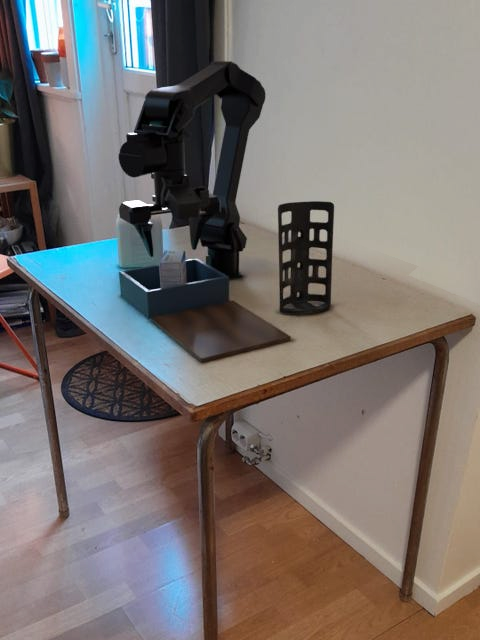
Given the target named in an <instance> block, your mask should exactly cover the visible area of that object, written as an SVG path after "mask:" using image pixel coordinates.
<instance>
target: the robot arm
mask: <svg viewBox="0 0 480 640" xmlns="http://www.w3.org/2000/svg"><path fill="white" fill-rule="evenodd" d="M215 95H216V97H218V99H219V100H220V111H221V114H222V117H223V120H224V123H225V125H224V130H223V136H222V141H221V147H220V151H219V152H220V153H219V158H218V163H217V168H216V174H215V180H214V185H213V190H212V193H210V190H209V189H208V187H207V186H206V185H205V186H197V187H193V188H192V187H191V184H190V178H189V175H188V174H186V163H185V162H186V161H185V160H186V159H185V158H186V157H185V140H190V139H191V133H190V132H189V131H188V130H187V129H185V126H187V124H188V123H189V122H190V121H191V120H192V119H193V118H194V116H195V110H196V109H197V108H198V107H199V106H201V105H202V104H204V103H205V102H207V101H208V100H210V99H211V98H213V97H215ZM265 101H266V89H265V88H264V87H263V85H262V82H261V81H259V80H258V79H257V78H256V77H255V76H253V75H251V74H250V73H248V72H246V71H245V70H243V69H241V68H240V66H239V65H238V64H237V63H235V62H233V61H230V60H229V61H228V60H214V61H211V62H210V63H209V64H208V66H207V67H205V68H203V69H201V70H199V71H198V72H197V73H195V74H193V75H192V76H190V77H189V78H187V79H185V80H183V81H182V82H181V83H179V84H176V85H172V86H163V87H159V88H154V89H151V90H149V91H148V92H147V93H146V95H145V96H144V101H143V105H142V106H141V110H140V111H139V115H138V118H137V121H136V124H135V126H134V130H133V132H128V133H126V135H125V137H126V141H125V142H124V143H122V145H121V147H120V149H119V153H118V162H119V165H120V167H121V170H122V171H123V172H124V174H125V175H127V176H128V177H130V178H139V177H142V176H146V175H150V179H152V180H153V181H154V182H153V184H154V185H153V186H154V194H153V195H151V200H152V202H154V203H151V204H147V203H145V202H143V201H141V200H139V199H138V200H130V201H123V202H121V203H120V205H119V207H118V214H119V216H120V218H121V219H123V220H125V221H126V222H128V223H130V224H132V225H134V227H135V228H136V230H137V231H138V233H139V235H140V237H141V239H142V241H143V243H144V246H145V248H146V250H147V252H148V254H149V256H150V257H153V242H152V234H151V229H152V226H153V224H152V223H151V222H149V220H150V219H151V215H157V214H160V215H164V214H173V216H174V218H175V219H178V220H185V219H188V224H189V225H188V227H189V239H190V246H191V250H193V251H196V250H197V248H198V244H199V243H200V245H201V247H203V248H204V247H205V248H207V254H206V255H205V263H206V264H208V265H210V266H211V267H213V268H215V269H216V270H218V271H220V272H222V273H223V274H225V275H227V276H229V280H232V279H236V278H242V277H243V276H244V273H242V272H240V252H243V251H244V249H245V248H246V247H247V241H248V238H247V236H246V235H245V233H244V232H243V230H242V229H241V227H240V222H241V216H240V213H239V210H238V206H237V203H236V200H237V195H238V190H239V187H240V185H239V184H240V179H241V176H242V175H241V173H242V171H243V170H242V169H243V166H244V165H243V164H244V159H245V154H246V149H247V143H248V138H249V135H250V133H249V132H250V130H251V128H252V127H253V126H254V125H255V124H256V122H257V121H258V120H259V119H260V117H261V113H262V110H263V108H264V107H263V106H264V104H265Z"/></svg>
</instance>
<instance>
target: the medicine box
mask: <svg viewBox="0 0 480 640" xmlns="http://www.w3.org/2000/svg"><path fill="white" fill-rule="evenodd" d="M186 255H187V254H186V251H185V250H184V249H166V250H163V256H162V258H161V261H160V263H159V270H160V284H161V288H164V287H170V286H175V285H180V284H186V283H187V279H186V260H187V259H186V258H187V257H186Z"/></svg>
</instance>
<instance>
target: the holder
mask: <svg viewBox="0 0 480 640" xmlns="http://www.w3.org/2000/svg"><path fill="white" fill-rule="evenodd" d="M311 211H325V212H326V213H327V221H326V222H320V221H311ZM288 212H291V214H290V215H291V216H290V222H289V223H285V224H283V214H285V213H288ZM334 224H335V203H333V202H331V201H323V200H321V201H320V200H318V201H317V200H314V201H313V200H312V201H310V200H309V201H294V202H285V203H281V204H279V205H278V206H277V229H278V230H277V231H278V234H277V235H278V236H277V237H278V276H279V278H278V279H279V284H278V285H279V286H278V287H279V313H281V314H284V315H285V314H286V315H290V314H309V313H311V314H315V313H321V312H326V311H327V310H329V309H330V308H331V307H332V276H333V272H332V271H333V248H334V247H333V246H334ZM311 230H313V239H312V240H310V239H311V238H310V237H311V234H310V233H311ZM322 230H323V231H326V240H325V241H324V240H321V238H320V237H321V236H320V234H321V231H322ZM283 233H284V234H283ZM289 234H290V235H289ZM299 235H300V236H299ZM283 236H284V237H283ZM289 237H290V240H289ZM283 238H284V240H283ZM283 241H284V242H283ZM311 248H315V249H323V250H325V252H326V253H325V254H326V256H325V257H326V258H325V259H321V258H310V249H311ZM288 250H290V260H287V261H284V259H283V253H284V252H285V251H288ZM298 264H299V265H298ZM311 266H312V273H311V275H310V267H311ZM320 267H322V268H325V277H323V276H322V277H321V276H319V268H320ZM289 271H290V274H289ZM289 275H290V276H289ZM310 284H319V285H324V289H325V290H324V294H320V293H309V285H310ZM287 287H289V288H290V289H289V291H290V292H289V296H286V297H284V289H286V288H287ZM310 302H317V303H321V304H319V305H314V304H312V303H310ZM290 304H292V305H293V306H294V308H293V307H292V308H291V307H290V308H289V307H286V306H288V305H290Z"/></svg>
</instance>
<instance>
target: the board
mask: <svg viewBox="0 0 480 640" xmlns="http://www.w3.org/2000/svg"><path fill="white" fill-rule="evenodd" d="M149 320H150V323H151V324H153V325H154V326H155V327H157V328H158V329H159V330H160V331H161V332H162V333H164V334H165V335H167V336H168V337H169V338H170V339H171V340H173V342H175V343H176V344H178V345H179V346H180V347H181V348H182V349H184V350H185V351H186V352H187V353H188V354H190V355H191V356H192V357H194V358H195V359H196V360H197V361H198V362H199V363H202V364H203V363H206V362H209V361H210V362H211V361H214V360H218V359H222V358H225V357H229V356H235V355H237V354H238V355H239V354H242V353H246V352H250V351H253V350H259V349H262V348H266V347H270V346H274V345H277V344H281V343H286V342H290V341H291V339H292V338H291V335H289V334H287V332H284V331H283V330H282V329H280V328H278V327H276V326H275V325H273V324H272V323H270V322H268V321H267V320H265V319H264V318H263V317H260V316H259V315H257V314H255V313H254V312H252V311H250V310H249V309H248V308H246V307H244V306H243V305H241V304H240V303H238V302H236V301H235V300H229V302H224V303H219V304H214V305H209V306H205V307H200V308H195V309H190V310H185V311H181V312H176V313H171V314H166V315H161V316H156V317H152V318H150V319H149Z"/></svg>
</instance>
